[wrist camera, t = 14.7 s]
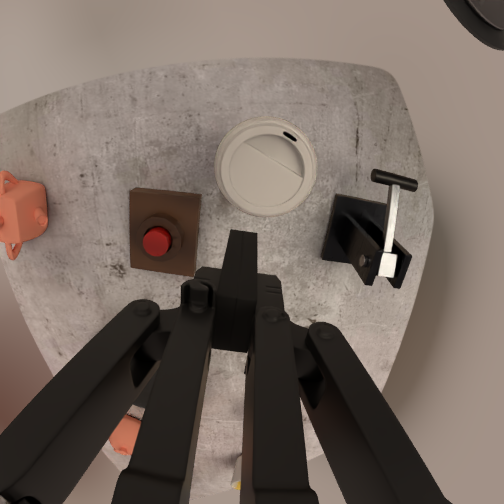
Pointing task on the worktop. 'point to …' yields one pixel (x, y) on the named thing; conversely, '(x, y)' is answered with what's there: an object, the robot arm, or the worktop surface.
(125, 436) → the sugar bowl
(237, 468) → the mug
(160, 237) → the button
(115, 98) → the worktop surface
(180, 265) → the button block
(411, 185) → the press lever
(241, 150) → the coffee cup
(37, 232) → the teapot
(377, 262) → the lever bracket
